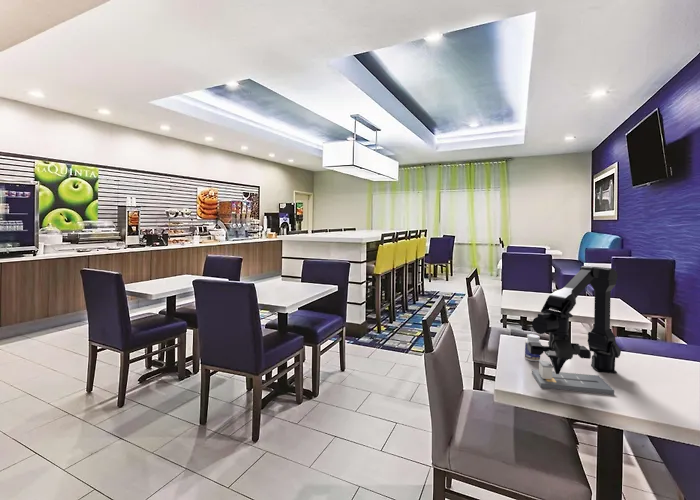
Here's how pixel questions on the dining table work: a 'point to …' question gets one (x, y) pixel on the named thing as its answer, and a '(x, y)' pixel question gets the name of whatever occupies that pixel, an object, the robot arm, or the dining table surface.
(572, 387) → the mixing board
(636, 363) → the dining table surface
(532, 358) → the pill bottle
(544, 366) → the fader
